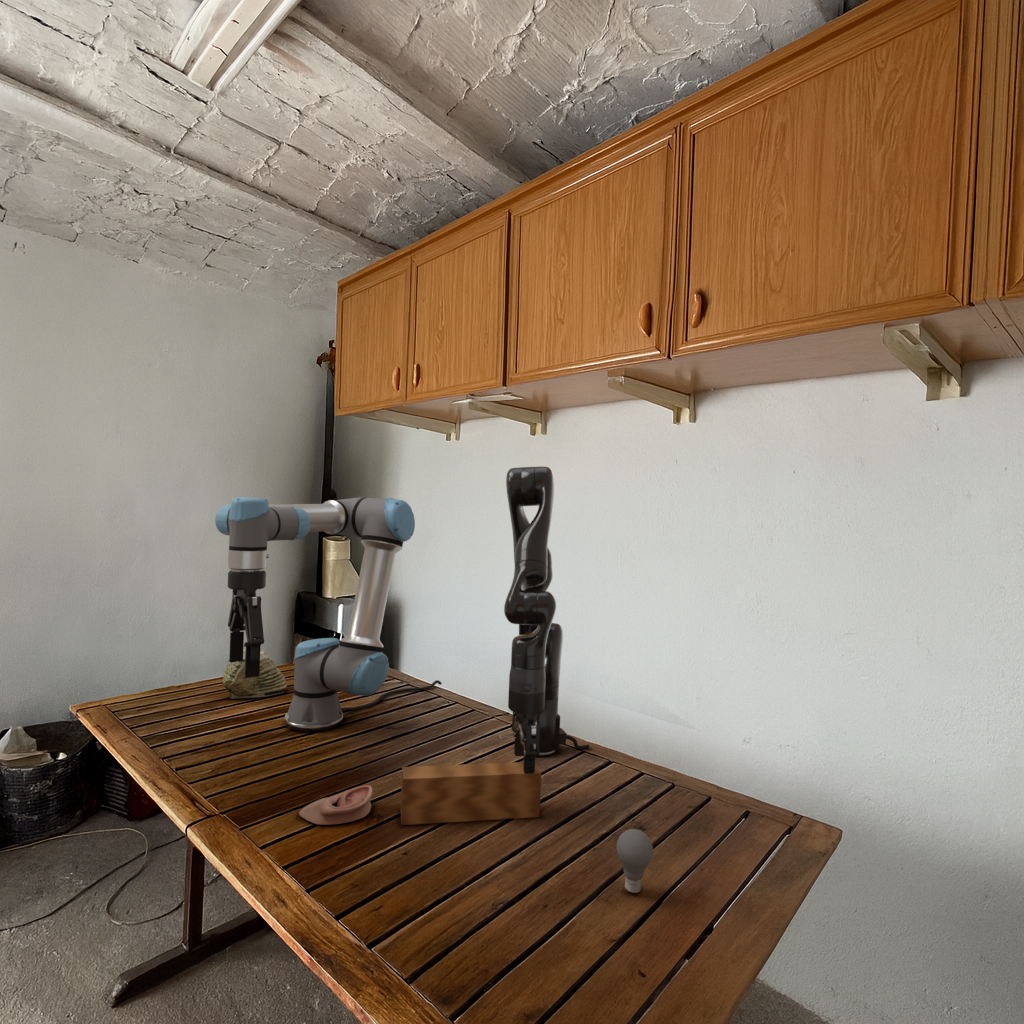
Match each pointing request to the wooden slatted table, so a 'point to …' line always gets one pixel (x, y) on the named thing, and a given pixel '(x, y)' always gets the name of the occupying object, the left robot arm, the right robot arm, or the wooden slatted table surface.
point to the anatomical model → (339, 807)
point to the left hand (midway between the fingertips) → (243, 668)
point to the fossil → (254, 679)
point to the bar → (469, 793)
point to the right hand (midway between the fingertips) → (523, 763)
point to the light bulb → (634, 857)
